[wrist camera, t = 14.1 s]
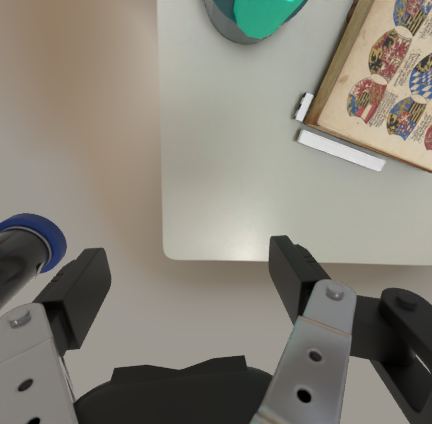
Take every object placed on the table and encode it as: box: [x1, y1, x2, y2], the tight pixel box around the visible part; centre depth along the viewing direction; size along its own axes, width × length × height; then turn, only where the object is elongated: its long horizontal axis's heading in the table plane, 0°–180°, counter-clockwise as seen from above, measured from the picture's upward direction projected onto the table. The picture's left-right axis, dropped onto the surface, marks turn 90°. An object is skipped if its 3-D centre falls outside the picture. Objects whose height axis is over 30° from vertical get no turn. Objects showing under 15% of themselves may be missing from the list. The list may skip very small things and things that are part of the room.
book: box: [294, 0, 432, 173], centre depth 37 cm, size 25×6×28 cm
